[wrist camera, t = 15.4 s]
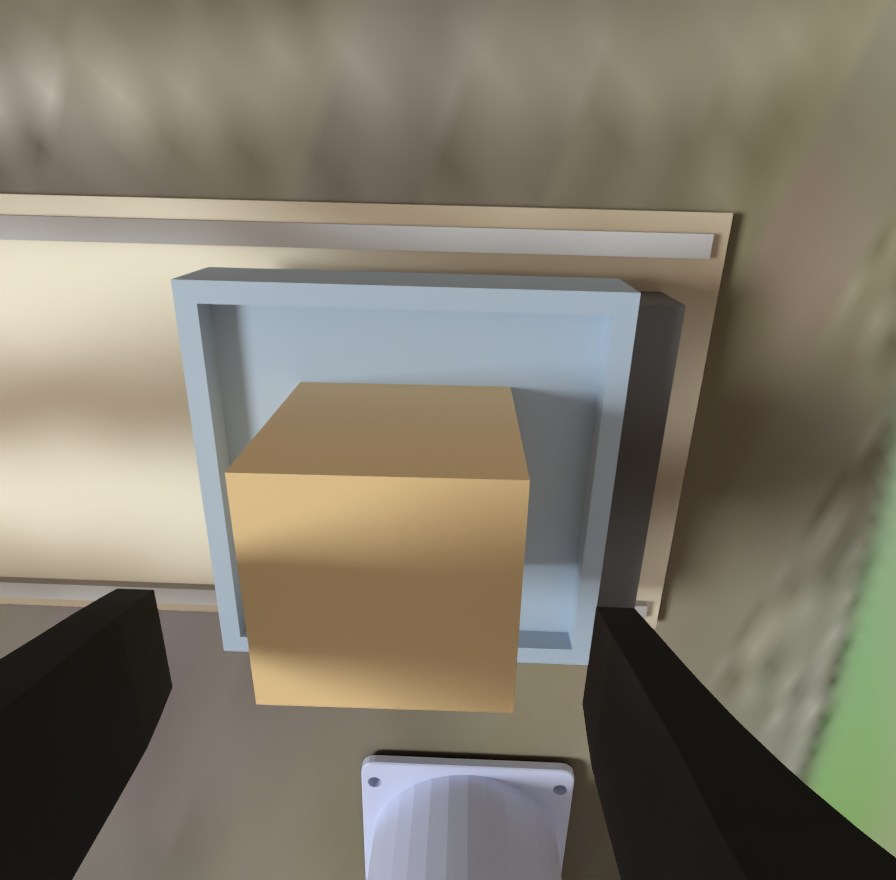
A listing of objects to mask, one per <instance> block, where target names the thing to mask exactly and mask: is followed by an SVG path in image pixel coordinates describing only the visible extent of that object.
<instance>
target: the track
mask: <svg viewBox="0 0 896 880" xmlns="http://www.w3.org/2000/svg"><path fill="white" fill-rule="evenodd" d="M732 218H733V213H728V212H693V211H654V210H616V209H578V208H540V207H501V206H463V205H425V204H387V203H348V202H310V201H272V200H234V199H195V198H157V197H119V196H81V195H42V194H4V193H0V604H26V605H52V606H78V607H86V606H87V605H89V604H91V603H92V602H94V601H96V600H97V599H99V598H101V597H103V596H104V595H106V594H108V593H110V592H112V591H114V590H115V589H117V588H120V589H146V590H154V592H155V597H156V603H157V608H158V610H183V611H209V612H218V605H217V598H216V591H215V584H214V577H213V570H212V563H211V556H210V549H209V542H208V535H207V528H206V522H205V515H204V508H203V501H202V494H201V487H200V480H199V473H198V466H197V459H196V452H195V445H194V438H193V431H192V425H191V418H190V411H189V404H188V397H187V390H186V383H185V376H184V369H183V362H182V355H181V348H180V341H179V334H178V327H177V321H176V314H175V307H174V300H173V293H172V286H171V279H173V278H176V277H179V276H182V275H185V274H188V273H192V272H195V271H198V270H201V269H204V268H207V267H228V268H264V269H299V270H335V271H370V272H406V273H441V274H477V275H512V276H548V277H583V278H619V279H620V280H622V281H623V282H625V283H626V284H628V285H630V286H631V287H633V288H634V289H636V290H637V291H639V292H640V293H641V296H640V303H639V310H638V317H637V324H636V332H635V339H634V346H633V353H632V360H631V367H630V374H629V381H628V389H627V396H626V403H625V410H624V417H623V424H622V431H621V438H620V445H619V453H618V460H617V467H616V474H615V481H614V488H613V495H612V502H611V510H610V517H609V524H608V531H607V538H606V545H605V552H604V559H603V567H602V574H601V581H600V588H599V595H598V602H597V607H622V608H635V609H636V610H637V612H638V613H639V614H640V615H641V616H642V617H643V618H644V619H645V620H646V622H647V623H648V624H649V625H650V626H651V627H652V628H653V629H656V623H657V618H658V613H659V607H660V602H661V597H662V591H663V586H664V581H665V575H666V570H667V565H668V559H669V554H670V549H671V543H672V538H673V533H674V527H675V522H676V517H677V511H678V506H679V501H680V495H681V490H682V485H683V479H684V474H685V469H686V463H687V458H688V453H689V447H690V442H691V437H692V431H693V426H694V421H695V415H696V410H697V405H698V399H699V394H700V389H701V383H702V378H703V373H704V367H705V362H706V357H707V351H708V346H709V341H710V335H711V330H712V325H713V319H714V314H715V309H716V303H717V298H718V293H719V288H720V282H721V277H722V272H723V266H724V261H725V256H726V250H727V245H728V240H729V234H730V229H731V224H732Z"/></svg>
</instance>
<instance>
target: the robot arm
mask: <svg viewBox="0 0 896 880" xmlns="http://www.w3.org/2000/svg"><path fill="white" fill-rule="evenodd" d="M171 689H172V682H171V677H170V672H169V666H168V661H167V656H166V650H165V645H164V640H163V635H162V629H161V624H160V619H159V613H158V608H157V603H156V597H155V592H154V590H146V589H120V588H117V589H115V590H114V591H112V592H110V593H108V594H106V595H104V596H103V597H101V598H99V599H97V600H96V601H94V602H92V603H91V604H89V605H87V606H86V607H84V608H82V609H81V610H79V611H77V612H76V613H74V614H72V615H71V616H69V617H68V618H66V619H64V620H63V621H61V622H60V623H58V624H56V625H55V626H53V627H52V628H50V629H48V630H47V631H45V632H44V633H42V634H40V635H39V636H37V637H36V638H34V639H32V640H31V641H29V642H27V643H26V644H24V645H23V646H21V647H19V648H18V649H16V650H14V651H13V652H11V653H10V654H8V655H6V656H5V657H3V658H2V659H0V880H72V879H73V877H74V875H75V874H76V872H77V870H78V868H79V867H80V865H81V863H82V861H83V860H84V858H85V856H86V854H87V853H88V851H89V849H90V847H91V846H92V844H93V842H94V841H95V839H96V837H97V835H98V834H99V832H100V830H101V828H102V827H103V825H104V823H105V821H106V820H107V818H108V816H109V814H110V813H111V811H112V809H113V807H114V806H115V804H116V802H117V801H118V799H119V797H120V795H121V793H122V792H123V790H124V788H125V786H126V785H127V783H128V781H129V779H130V778H131V776H132V774H133V772H134V770H135V769H136V767H137V765H138V763H139V762H140V760H141V758H142V756H143V754H144V752H145V751H146V749H147V747H148V744H149V742H150V740H151V738H152V735H153V733H154V731H155V728H156V726H157V724H158V722H159V719H160V717H161V714H162V712H163V709H164V707H165V704H166V702H167V699H168V697H169V694H170V692H171ZM583 710H584V717H585V724H586V732H587V739H588V745H589V752H590V758H591V765H592V770H593V774H594V778H595V782H596V786H597V789H598V793H599V797H600V801H601V805H602V809H603V813H604V817H605V820H606V824H607V828H608V832H609V836H610V839H611V843H612V847H613V851H614V855H615V858H616V862H617V866H618V870H619V873H620V877H621V880H896V858H895V857H894V856H893V855H891V854H890V853H889V852H887V851H886V850H885V849H884V848H882V847H881V846H880V845H878V844H877V843H876V842H874V841H873V840H872V839H871V838H869V837H868V836H867V835H866V834H864V833H863V832H862V831H861V830H859V829H858V828H857V827H856V826H854V825H853V824H852V823H851V822H850V821H848V820H847V819H846V818H845V817H844V816H843V815H841V814H840V813H839V812H838V811H837V810H835V809H834V808H833V807H832V806H831V805H829V804H828V803H827V802H826V801H825V800H824V799H822V798H821V797H820V796H819V795H818V794H816V793H815V792H814V791H813V790H812V789H810V788H809V787H808V786H807V785H806V784H805V783H803V782H802V781H801V780H800V779H799V778H798V777H797V776H796V775H795V774H793V773H792V772H791V771H790V770H789V769H788V768H787V767H786V766H784V765H783V764H782V763H781V762H780V761H779V760H778V759H777V758H776V757H775V756H774V755H773V754H772V753H771V752H770V751H769V750H767V749H766V748H765V747H764V746H763V745H762V744H761V743H760V742H759V741H758V740H757V739H756V738H755V737H754V736H753V735H752V734H751V733H750V732H749V731H747V730H746V729H745V728H744V727H743V726H742V725H741V724H740V723H739V722H738V721H737V720H736V719H735V718H734V717H733V716H732V715H731V714H730V713H729V712H728V710H727V709H726V708H725V707H724V706H723V705H722V704H721V703H720V702H719V701H718V700H717V699H716V698H715V697H714V696H713V695H712V694H711V693H710V692H709V691H708V689H707V688H706V687H705V686H704V685H703V684H702V683H701V682H700V681H699V680H698V679H697V678H696V677H695V676H694V674H693V673H692V672H691V671H690V670H689V669H688V668H687V667H686V666H685V665H684V663H683V662H682V661H681V660H680V659H679V658H678V657H677V656H676V654H675V653H674V652H673V651H672V650H671V649H670V648H669V647H668V645H667V644H666V643H665V642H664V641H663V640H662V639H661V637H660V636H659V635H658V634H657V633H656V632H655V631H654V629H653V628H652V627H651V626H650V625H649V624H648V623H647V622H646V620H645V619H644V618H643V617H642V616H641V615H640V614H639V613H638V612H637V610H636V609H635V608H622V607H596V611H595V619H594V626H593V633H592V640H591V647H590V655H589V662H588V669H587V676H586V683H585V690H584V698H583ZM361 773H362V798H363V822H364V846H365V870H366V880H562V877H561V872H562V865H563V858H564V851H565V844H566V837H567V830H568V823H569V816H570V809H571V802H572V795H573V788H574V781H575V780H574V773H573V769H572V768H571V766H569V765H567V764H565V763H553V762H530V761H506V760H482V759H459V758H435V757H411V756H388V755H371V756H369V757H366V758H365V759H364V761H363V765H362V771H361ZM374 777H376V778H374ZM558 785H560V786H558Z"/></svg>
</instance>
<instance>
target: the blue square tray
mask: <svg viewBox="0 0 896 880" xmlns="http://www.w3.org/2000/svg"><path fill="white" fill-rule="evenodd" d="M171 286H172V293H173V300H174V307H175V314H176V321H177V327H178V334H179V341H180V348H181V355H182V362H183V369H184V376H185V383H186V390H187V397H188V404H189V411H190V418H191V425H192V431H193V438H194V445H195V452H196V459H197V466H198V473H199V480H200V487H201V494H202V501H203V508H204V515H205V522H206V528H207V535H208V542H209V549H210V556H211V563H212V570H213V577H214V584H215V591H216V598H217V605H218V612H219V619H220V625H221V632H222V639H223V646H224V651H244V652H249V647H248V640H247V632H246V625H245V618H244V610H243V603H242V596H241V588H240V581H239V574H238V567H237V559H236V552H235V545H234V537H233V530H232V523H231V515H230V508H229V501H228V494H227V486H226V479H225V472H226V470H227V469H228V468H229V467H230V466H231V464H232V463H233V462H234V461H235V460H236V458H237V457H238V456H239V455H240V454H241V452H242V451H243V450H244V449H245V448H246V446H247V445H248V444H249V443H250V442H251V440H252V439H253V438H254V437H255V436H256V434H257V433H258V432H259V431H260V430H261V428H262V427H263V426H264V425H265V424H266V423H267V421H268V420H269V419H270V418H271V417H272V415H273V414H274V413H275V412H276V411H277V409H278V408H279V407H280V406H281V405H282V403H283V402H284V401H285V400H286V399H287V397H288V396H289V395H290V394H291V393H292V391H293V390H294V389H295V388H296V387H297V385H298V384H299V383H300V382H320V383H365V384H410V385H455V386H500V387H511V392H512V396H513V401H514V406H515V411H516V416H517V420H518V425H519V430H520V435H521V440H522V444H523V449H524V454H525V459H526V464H527V469H528V473H529V478H530V487H529V501H528V515H527V529H526V543H525V557H524V571H523V585H522V599H521V612H520V626H519V640H518V654H517V662H524V663H549V664H575V665H588V662H589V655H590V647H591V640H592V633H593V626H594V619H595V611H596V607H597V602H598V595H599V588H600V581H601V574H602V567H603V559H604V552H605V545H606V538H607V531H608V524H609V517H610V510H611V502H612V495H613V488H614V481H615V474H616V467H617V460H618V453H619V445H620V438H621V431H622V424H623V417H624V410H625V403H626V396H627V389H628V381H629V374H630V367H631V360H632V353H633V346H634V339H635V332H636V324H637V317H638V310H639V303H640V296H641V293H640V292H639V291H637V290H636V289H634V288H633V287H631V286H630V285H628V284H626V283H625V282H623V281H622V280H620V279H619V278H583V277H548V276H512V275H477V274H441V273H406V272H370V271H335V270H299V269H264V268H228V267H207V268H204V269H201V270H198V271H195V272H192V273H188V274H185V275H182V276H179V277H176V278H173V279H171Z"/></svg>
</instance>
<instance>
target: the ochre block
mask: <svg viewBox="0 0 896 880" xmlns="http://www.w3.org/2000/svg"><path fill="white" fill-rule="evenodd" d="M225 479H226V486H227V494H228V501H229V508H230V515H231V523H232V530H233V537H234V545H235V552H236V559H237V567H238V574H239V581H240V588H241V596H242V603H243V610H244V618H245V625H246V632H247V640H248V647H249V654H250V662H251V669H252V676H253V683H254V691H255V698H256V704H262V705H292V706H322V707H351V708H381V709H411V710H441V711H470V712H500V713H513V710H514V696H515V682H516V668H517V654H518V640H519V626H520V612H521V599H522V585H523V571H524V557H525V543H526V529H527V515H528V501H529V487H530V478H529V473H528V469H527V464H526V459H525V454H524V449H523V444H522V440H521V435H520V430H519V425H518V420H517V416H516V411H515V406H514V401H513V396H512V392H511V387H500V386H455V385H410V384H365V383H320V382H300V383H299V384H298V385H297V387H296V388H295V389H294V390H293V391H292V393H291V394H290V395H289V396H288V397H287V399H286V400H285V401H284V402H283V403H282V405H281V406H280V407H279V408H278V409H277V411H276V412H275V413H274V414H273V415H272V417H271V418H270V419H269V420H268V421H267V423H266V424H265V425H264V426H263V427H262V428H261V430H260V431H259V432H258V433H257V434H256V436H255V437H254V438H253V439H252V440H251V442H250V443H249V444H248V445H247V446H246V448H245V449H244V450H243V451H242V452H241V454H240V455H239V456H238V457H237V458H236V460H235V461H234V462H233V463H232V464H231V466H230V467H229V468H228V469H227V470H226V472H225Z"/></svg>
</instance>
